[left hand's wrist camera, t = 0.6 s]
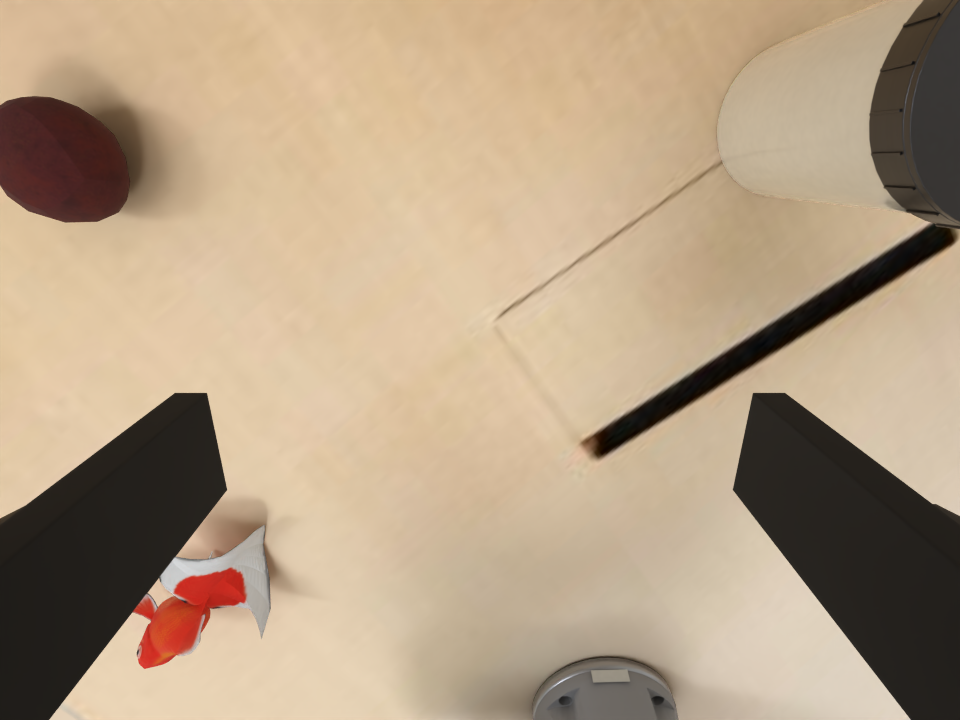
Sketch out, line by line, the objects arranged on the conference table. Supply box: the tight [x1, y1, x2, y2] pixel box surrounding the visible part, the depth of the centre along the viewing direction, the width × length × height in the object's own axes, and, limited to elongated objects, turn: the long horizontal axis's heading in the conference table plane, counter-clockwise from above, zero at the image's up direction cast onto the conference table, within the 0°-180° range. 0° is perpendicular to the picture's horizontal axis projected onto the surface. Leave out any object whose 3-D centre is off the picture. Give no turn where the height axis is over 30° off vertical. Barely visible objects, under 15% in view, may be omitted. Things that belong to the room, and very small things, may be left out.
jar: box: [717, 0, 923, 213], centre depth 27 cm, size 10×10×17 cm
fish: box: [133, 525, 271, 669], centre depth 45 cm, size 11×16×10 cm
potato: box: [0, 96, 130, 222], centre depth 33 cm, size 7×8×7 cm
